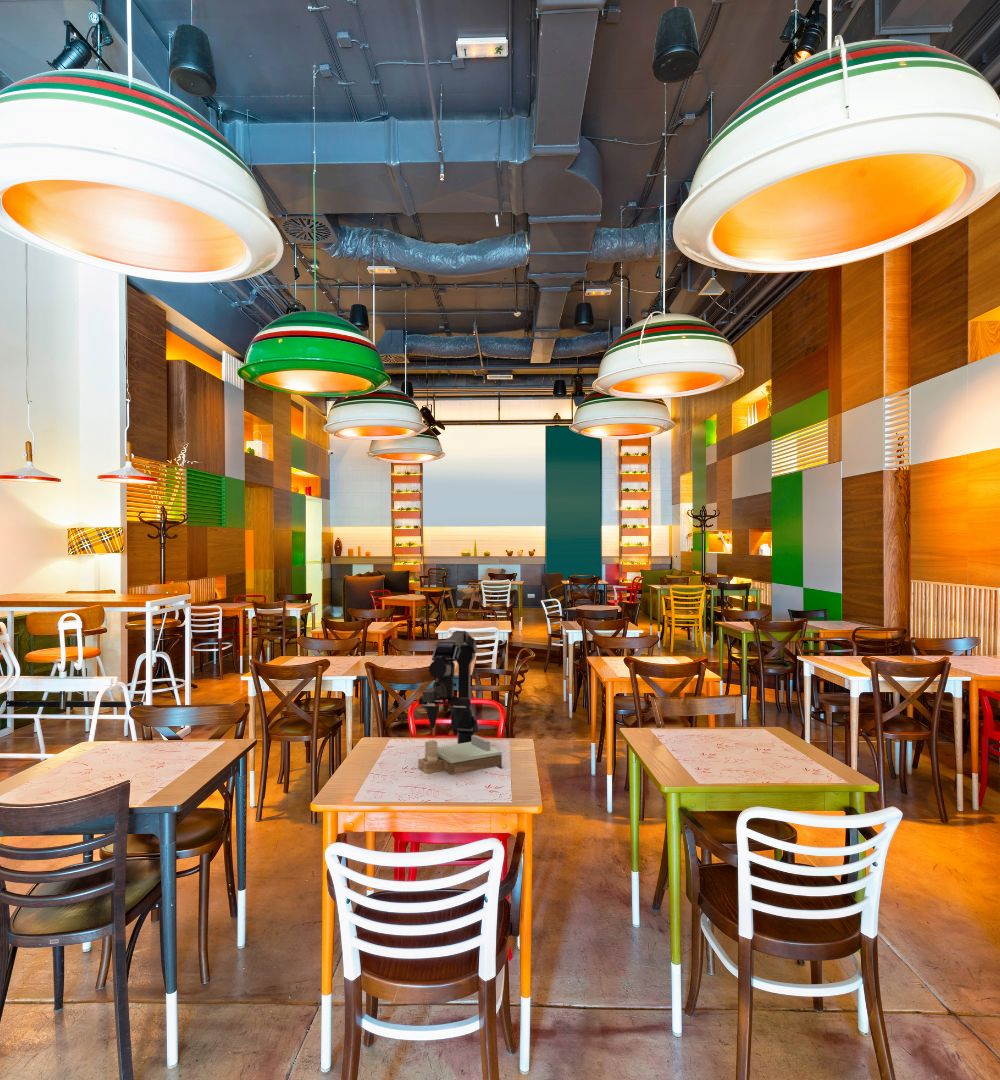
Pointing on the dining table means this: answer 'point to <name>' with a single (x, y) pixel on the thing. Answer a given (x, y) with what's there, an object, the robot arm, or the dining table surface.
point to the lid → (467, 750)
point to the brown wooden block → (430, 751)
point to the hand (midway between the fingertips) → (442, 728)
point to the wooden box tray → (459, 765)
